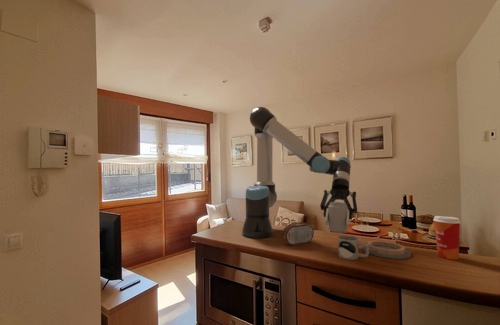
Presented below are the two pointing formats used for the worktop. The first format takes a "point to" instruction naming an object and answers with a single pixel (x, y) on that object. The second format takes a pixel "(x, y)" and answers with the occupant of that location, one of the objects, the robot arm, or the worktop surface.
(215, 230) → the worktop surface
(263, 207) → the robot arm
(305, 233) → the tin
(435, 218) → the paper cup
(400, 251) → the coaster
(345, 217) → the can
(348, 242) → the mug
